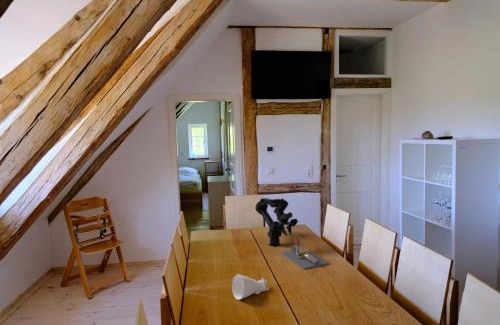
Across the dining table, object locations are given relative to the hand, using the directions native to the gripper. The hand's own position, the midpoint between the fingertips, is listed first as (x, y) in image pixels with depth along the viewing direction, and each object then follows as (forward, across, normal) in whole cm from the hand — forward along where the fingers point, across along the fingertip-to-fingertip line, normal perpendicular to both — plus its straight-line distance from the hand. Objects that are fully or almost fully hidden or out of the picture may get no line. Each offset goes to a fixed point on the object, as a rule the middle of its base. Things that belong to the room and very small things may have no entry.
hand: (288, 235), depth 212 cm
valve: (+17, +5, +2) cm, 18 cm away
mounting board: (+17, +5, +2) cm, 18 cm away
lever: (+15, 0, 0) cm, 15 cm away
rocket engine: (+37, -43, -18) cm, 60 cm away
